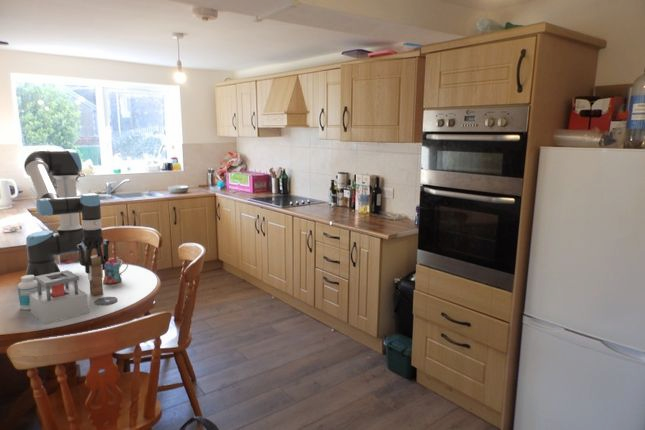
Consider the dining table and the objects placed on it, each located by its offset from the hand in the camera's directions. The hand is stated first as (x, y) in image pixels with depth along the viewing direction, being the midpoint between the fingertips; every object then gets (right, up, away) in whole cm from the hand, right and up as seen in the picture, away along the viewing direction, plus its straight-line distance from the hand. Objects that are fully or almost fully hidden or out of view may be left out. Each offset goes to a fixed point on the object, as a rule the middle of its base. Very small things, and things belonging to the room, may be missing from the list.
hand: (95, 278), depth 195 cm
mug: (0, -5, +19) cm, 20 cm away
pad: (+8, -9, -7) cm, 14 cm away
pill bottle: (-19, -10, -15) cm, 27 cm away
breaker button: (-4, -7, -21) cm, 22 cm away
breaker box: (-4, -11, -20) cm, 23 cm away
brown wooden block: (0, -8, +1) cm, 8 cm away
